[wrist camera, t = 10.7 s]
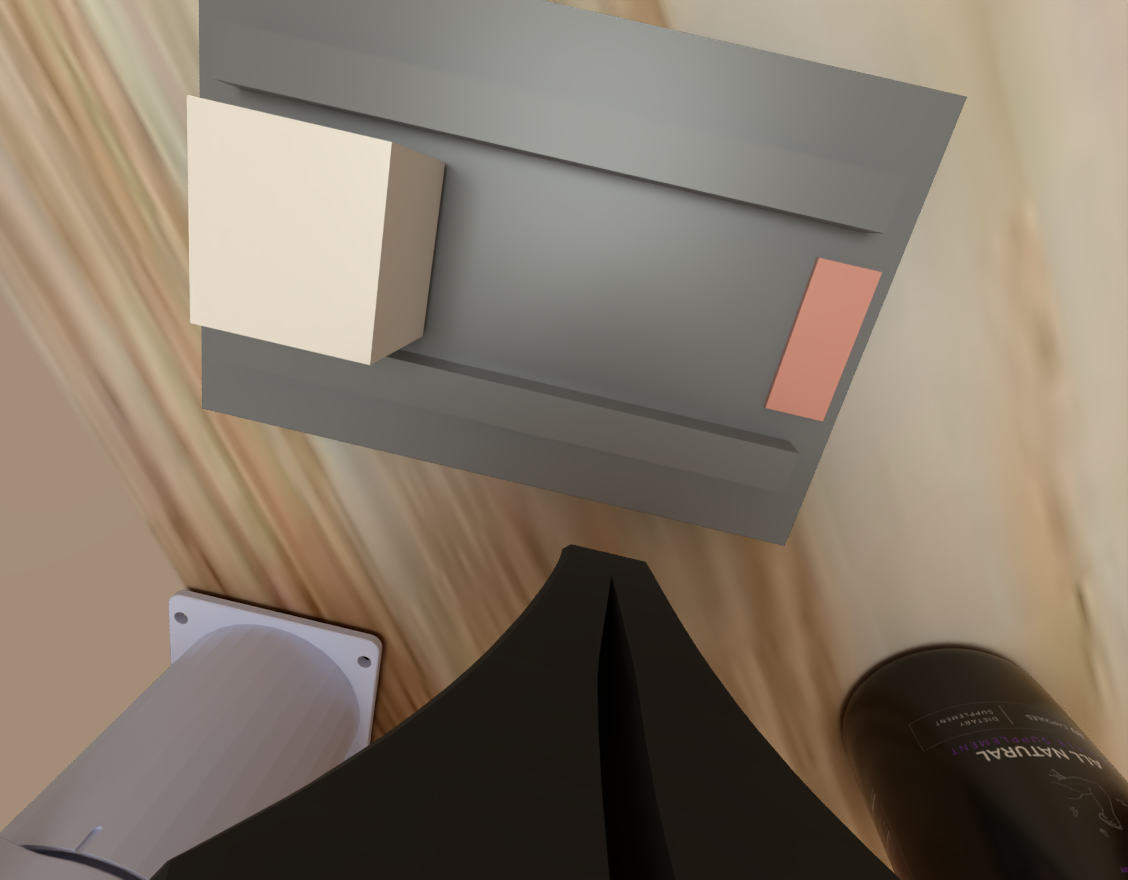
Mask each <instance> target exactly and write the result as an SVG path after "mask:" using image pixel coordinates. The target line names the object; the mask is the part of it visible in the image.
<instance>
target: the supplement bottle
mask: <svg viewBox="0 0 1128 880" xmlns="http://www.w3.org/2000/svg"><path fill="white" fill-rule="evenodd" d="M842 734H843V743H844V747H845V750H846V754H847V757H848V759H849V762H850V764H851V767H852V769H853V772H854V775H855V777H856V780H857V782H858V785H859V787H860V790H861V792H862V795H863V797H864V799H865V802H866V804H867V807H868V809H869V812H870V814H871V817H872V819H873V821H874V824H875V826H876V829H877V831H878V834H879V836H880V839H881V841H882V843H883V846H884V848H885V851H886V853H887V856H888V858H889V861H890V863H891V865H892V868H893V870H894V873H895V875H896V876H898V877H899V878H900V879H901V880H1128V782H1127V780H1126V779H1125V778H1124V777H1123V776H1122V775H1121V774H1120V773H1119V772H1118V770H1117V769H1116V768H1115V767H1114V766H1113V765H1112V764H1111V763H1110V761H1109V760H1108V759H1107V758H1106V757H1105V756H1104V755H1103V754H1102V753H1101V751H1100V750H1099V749H1098V748H1097V747H1096V746H1095V745H1094V744H1093V743H1092V741H1091V740H1090V739H1089V738H1088V737H1087V736H1086V735H1085V734H1084V732H1083V731H1082V730H1081V729H1080V728H1079V727H1078V726H1077V725H1076V724H1075V722H1074V721H1073V720H1072V719H1071V718H1070V717H1069V716H1068V715H1067V714H1066V712H1065V711H1064V710H1063V709H1062V708H1061V707H1060V706H1059V705H1058V704H1057V703H1056V702H1055V701H1054V700H1053V698H1052V697H1051V696H1050V695H1049V694H1048V693H1047V692H1046V691H1045V690H1044V689H1043V688H1042V686H1041V685H1040V684H1039V683H1037V682H1036V681H1035V680H1034V679H1033V678H1032V677H1031V676H1030V675H1029V674H1028V673H1026V672H1025V671H1024V670H1023V669H1021V668H1019V667H1018V666H1016V665H1014V664H1013V663H1011V662H1009V661H1007V660H1005V659H1003V658H1000V657H997V656H995V655H992V654H988V653H985V652H981V651H976V650H970V649H961V648H939V649H931V650H925V651H920V652H916V653H912V654H909V655H906V656H903V657H901V658H898V659H896V660H894V661H892V662H890V663H888V664H886V665H884V666H883V667H881V668H880V669H878V670H877V671H875V672H874V673H873V674H871V675H870V676H869V677H868V678H867V679H866V680H865V681H864V682H863V683H862V684H861V685H860V686H859V687H858V689H857V690H856V691H855V693H854V694H853V696H852V698H851V699H850V701H849V703H848V706H847V708H846V711H845V715H844V719H843V727H842Z"/></svg>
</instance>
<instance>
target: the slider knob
mask: <svg viewBox="0 0 1128 880" xmlns="http://www.w3.org/2000/svg"><path fill="white" fill-rule="evenodd" d="M187 138H188V206H189V273H190V323H192V324H197V325H201V326H205V327H209V328H214V329H218V330H222V331H226V332H231V333H235V334H239V335H243V336H248V337H252V338H256V339H260V340H265V341H269V342H273V343H278V344H282V345H286V346H290V347H295V348H299V349H303V350H307V351H312V352H316V353H320V354H324V355H329V356H333V357H337V358H341V359H346V360H350V361H354V362H359V363H363V364H367V365H371V364H373V363H375V362H377V361H379V360H380V359H382V358H384V357H386V356H388V355H389V354H391V353H393V352H395V351H397V350H399V349H400V348H402V347H404V346H406V345H408V344H409V343H411V342H413V341H415V340H417V339H419V338H420V337H422V336H423V331H424V323H425V315H426V307H427V300H428V292H429V284H430V276H431V269H432V261H433V253H434V245H435V238H436V230H437V222H438V214H439V207H440V199H441V191H442V183H443V176H444V168H445V162H443V161H441V160H438V159H435V158H433V157H430V156H427V155H425V154H422V153H420V152H417V151H414V150H412V149H409V148H406V147H404V146H401V145H398V144H396V143H393V142H390V141H385V140H381V139H377V138H372V137H368V136H364V135H359V134H355V133H351V132H346V131H342V130H338V129H333V128H329V127H325V126H320V125H316V124H312V123H307V122H303V121H299V120H294V119H290V118H286V117H281V116H277V115H273V114H268V113H264V112H260V111H255V110H251V109H247V108H242V107H238V106H234V105H229V104H225V103H221V102H216V101H212V100H208V99H203V98H199V97H195V96H190V95H187Z"/></svg>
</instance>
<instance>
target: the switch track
mask: <svg viewBox="0 0 1128 880" xmlns="http://www.w3.org/2000/svg"><path fill="white" fill-rule="evenodd" d="M199 60H200V98H203V99H208V100H212V101H216V102H221V103H225V104H229V105H234V106H238V107H242V108H247V109H251V110H255V111H260V112H264V113H268V114H273V115H277V116H281V117H286V118H290V119H294V120H299V121H303V122H307V123H312V124H316V125H320V126H325V127H329V128H333V129H338V130H342V131H346V132H351V133H355V134H359V135H364V136H368V137H372V138H377V139H381V140H385V141H390V142H393V143H396V144H398V145H401V146H404V147H406V148H409V149H412V150H414V151H417V152H420V153H422V154H425V155H427V156H430V157H433V158H435V159H438V160H441V161H443V162H445V168H444V176H443V183H442V191H441V199H440V207H439V214H438V222H437V230H436V238H435V245H434V253H433V261H432V269H431V276H430V284H429V292H428V300H427V307H426V315H425V323H424V331H423V336H422V337H420V338H419V339H417V340H415V341H413V342H411V343H409V344H408V345H406V346H404V347H402V348H400V349H399V350H397V351H395V352H393V353H391V354H389V355H388V356H386V357H384V358H382V359H380V360H379V361H377V362H375V363H373V364H371V365H367V364H363V363H359V362H354V361H350V360H346V359H341V358H337V357H333V356H329V355H324V354H320V353H316V352H312V351H307V350H303V349H299V348H295V347H290V346H286V345H282V344H278V343H273V342H269V341H265V340H260V339H256V338H252V337H248V336H243V335H239V334H235V333H231V332H226V331H222V330H218V329H214V328H209V327H205V326H202V409H206V410H211V411H215V412H219V413H223V414H228V415H232V416H236V417H240V418H245V419H249V420H253V421H257V422H262V423H266V424H270V425H274V426H279V427H283V428H287V429H291V430H295V431H300V432H304V433H308V434H312V435H317V436H321V437H325V438H329V439H334V440H338V441H342V442H346V443H351V444H355V445H359V446H363V447H368V448H372V449H376V450H380V451H384V452H389V453H393V454H397V455H401V456H406V457H410V458H414V459H418V460H423V461H427V462H431V463H435V464H440V465H444V466H448V467H452V468H457V469H461V470H465V471H469V472H473V473H478V474H482V475H486V476H490V477H495V478H499V479H503V480H507V481H512V482H516V483H520V484H524V485H529V486H533V487H537V488H541V489H545V490H550V491H554V492H558V493H562V494H567V495H571V496H575V497H579V498H584V499H588V500H592V501H596V502H601V503H605V504H609V505H613V506H618V507H622V508H626V509H630V510H634V511H639V512H643V513H647V514H651V515H656V516H660V517H664V518H668V519H673V520H677V521H681V522H685V523H690V524H694V525H698V526H702V527H707V528H711V529H715V530H719V531H723V532H728V533H732V534H736V535H740V536H745V537H749V538H753V539H757V540H762V541H766V542H770V543H774V544H779V545H783V546H785V544H786V542H787V539H788V537H789V534H790V532H791V529H792V527H793V524H794V522H795V519H796V517H797V514H798V512H799V509H800V507H801V505H802V502H803V500H804V497H805V495H806V492H807V490H808V487H809V485H810V482H811V480H812V477H813V475H814V473H815V470H816V468H817V465H818V463H819V460H820V458H821V455H822V453H823V450H824V448H825V445H826V443H827V440H828V438H829V436H830V433H831V431H832V428H833V426H834V423H835V421H836V418H837V416H838V413H839V411H840V408H841V406H842V404H843V401H844V399H845V396H846V394H847V391H848V389H849V386H850V384H851V381H852V379H853V376H854V374H855V372H856V369H857V367H858V364H859V362H860V359H861V357H862V354H863V352H864V349H865V347H866V344H867V342H868V339H869V337H870V335H871V332H872V330H873V327H874V325H875V322H876V320H877V317H878V315H879V312H880V310H881V307H882V305H883V303H884V300H885V298H886V295H887V293H888V290H889V288H890V285H891V283H892V280H893V278H894V275H895V273H896V270H897V268H898V266H899V263H900V261H901V258H902V256H903V253H904V251H905V248H906V246H907V243H908V241H909V238H910V236H911V234H912V231H913V229H914V226H915V224H916V221H917V219H918V216H919V214H920V211H921V209H922V206H923V204H924V202H925V199H926V197H927V194H928V192H929V189H930V187H931V184H932V182H933V179H934V177H935V174H936V172H937V169H938V167H939V165H940V162H941V160H942V157H943V155H944V152H945V150H946V147H947V145H948V142H949V140H950V137H951V135H952V133H953V130H954V128H955V125H956V123H957V120H958V118H959V115H960V113H961V110H962V108H963V105H964V103H965V101H966V98H967V97H966V96H961V95H957V94H952V93H948V92H944V91H939V90H935V89H930V88H926V87H922V86H917V85H913V84H908V83H904V82H900V81H895V80H891V79H887V78H882V77H878V76H873V75H869V74H865V73H860V72H856V71H851V70H847V69H843V68H838V67H834V66H830V65H825V64H821V63H816V62H812V61H808V60H803V59H799V58H794V57H790V56H786V55H781V54H777V53H772V52H768V51H764V50H759V49H755V48H751V47H746V46H742V45H737V44H733V43H729V42H724V41H720V40H715V39H711V38H707V37H702V36H698V35H694V34H689V33H685V32H680V31H676V30H672V29H667V28H663V27H658V26H654V25H650V24H645V23H641V22H636V21H632V20H628V19H623V18H619V17H615V16H610V15H606V14H601V13H597V12H593V11H588V10H584V9H579V8H575V7H571V6H566V5H562V4H557V3H553V2H549V1H544V0H199Z"/></svg>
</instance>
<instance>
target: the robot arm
mask: <svg viewBox="0 0 1128 880" xmlns="http://www.w3.org/2000/svg"><path fill="white" fill-rule="evenodd" d="M183 613H184V614H185V615H186V616H185V615H184V614H183ZM169 627H170V655H171V666H170V667H169V668H168V669H167V670H166V671H165V672H164V673H163V674H162V675H161V676H160V677H159V678H158V679H157V680H156V681H155V682H154V683H153V684H152V685H151V686H150V687H149V688H148V689H147V690H146V691H145V692H144V693H143V694H141V695H140V696H139V697H138V698H137V699H136V701H134V702H133V703H132V704H131V705H130V706H129V707H128V708H127V709H126V710H125V711H124V712H123V713H122V714H121V715H120V716H119V717H118V718H117V719H116V720H115V721H114V722H113V723H112V724H111V725H110V726H109V727H108V728H107V729H106V730H105V731H104V732H103V733H102V734H100V735H99V736H98V737H97V738H96V739H95V740H94V741H93V742H92V743H91V744H90V745H89V746H88V747H87V748H86V749H85V750H84V751H83V752H82V753H81V754H80V755H79V756H78V757H77V758H76V759H75V760H74V761H73V762H72V763H71V764H70V765H69V766H68V767H67V768H66V769H65V770H64V771H63V772H62V773H61V774H60V775H58V776H57V777H56V778H55V780H54V781H52V782H51V783H50V784H49V785H48V786H47V787H46V788H45V789H44V790H43V791H42V792H41V793H40V794H39V795H38V796H37V797H36V798H35V799H34V800H33V801H32V802H31V803H30V804H29V805H28V806H27V807H26V808H25V809H24V810H23V811H22V812H21V813H20V814H19V815H17V816H16V817H15V818H14V819H13V820H12V821H11V822H10V823H9V824H8V825H7V826H6V827H5V828H4V829H3V830H2V831H1V832H0V880H901V879H900V878H899V877H898V876H896V875H895V874H894V873H893V872H892V871H891V870H890V869H889V868H888V867H887V866H886V865H885V864H884V863H883V862H882V861H881V860H879V859H878V858H877V857H876V856H875V855H874V854H873V853H872V852H871V851H870V850H869V849H868V848H867V847H866V846H865V845H864V844H863V843H862V842H861V841H860V840H859V839H858V838H857V837H856V836H855V835H854V834H853V833H852V832H851V831H850V830H849V829H848V828H847V827H846V826H845V825H844V824H843V823H842V822H841V821H840V820H839V819H838V818H837V817H836V816H835V815H834V814H833V813H832V812H831V811H830V810H829V809H828V808H827V807H826V806H825V805H824V804H823V803H822V802H821V801H820V800H819V798H818V797H817V796H816V795H815V794H814V793H813V792H812V791H811V790H810V789H809V788H808V787H807V786H806V784H805V783H804V782H803V781H802V780H801V779H800V778H799V777H798V776H797V775H796V774H795V773H794V771H793V770H792V769H791V768H790V767H789V766H788V765H787V763H786V762H785V761H784V760H783V759H782V758H781V756H780V755H779V754H778V753H777V752H776V751H775V749H774V748H773V747H772V746H771V745H770V744H769V742H768V741H767V740H766V739H765V738H764V737H763V735H762V734H761V733H760V732H759V731H758V730H757V728H756V727H755V726H754V725H753V723H752V722H751V721H750V720H749V718H748V717H747V716H746V715H745V713H744V712H743V711H742V710H741V708H740V707H739V706H738V705H737V703H736V702H735V700H734V699H733V698H732V696H731V695H730V694H729V692H728V691H727V690H726V688H725V687H724V686H723V684H722V683H721V681H720V680H719V679H718V677H717V676H716V675H715V673H714V672H713V671H712V669H711V668H710V666H709V665H708V663H707V662H706V660H705V659H704V657H703V656H702V655H701V653H700V652H699V650H698V648H697V647H696V645H695V644H694V642H693V641H692V639H691V638H690V636H689V634H688V633H687V631H686V630H685V628H684V627H683V625H682V623H681V622H680V620H679V618H678V617H677V615H676V613H675V612H674V610H673V608H672V606H671V605H670V603H669V601H668V600H667V598H666V596H665V594H664V593H663V591H662V589H661V587H660V586H659V584H658V582H657V581H656V579H655V577H654V575H653V574H652V572H651V570H650V569H649V567H648V565H647V564H646V562H643V561H639V560H635V559H631V558H627V557H622V556H618V555H614V554H610V553H605V552H601V551H597V550H593V549H589V548H584V547H580V546H576V545H572V544H571V545H569V546H567V547H565V548H563V549H562V553H561V557H560V559H559V561H558V563H557V565H556V567H555V569H554V570H553V572H552V574H551V575H550V577H549V578H548V580H547V581H546V583H545V584H544V586H543V587H542V588H541V590H540V591H539V592H538V594H537V595H536V596H535V598H534V599H533V600H532V602H531V603H530V604H529V605H528V607H527V608H526V609H525V611H524V612H523V613H522V614H521V615H520V616H519V618H518V619H517V620H516V621H515V622H514V623H513V624H512V625H511V626H510V627H509V628H508V630H507V631H506V632H505V633H504V634H503V635H502V636H501V637H500V638H499V639H498V640H497V642H496V643H495V644H494V645H493V646H492V647H491V648H490V649H489V650H488V651H487V652H486V653H485V654H484V655H483V656H482V657H480V658H479V659H478V660H477V661H476V662H475V663H474V664H473V665H472V666H471V667H470V668H469V669H468V670H466V671H465V672H464V673H463V674H462V675H461V676H460V677H458V678H457V679H456V680H455V681H454V682H453V683H452V684H450V685H449V686H448V687H447V688H446V689H444V690H443V691H442V692H441V693H439V694H438V695H437V696H436V697H434V698H433V699H432V700H430V701H429V702H428V703H427V704H425V705H424V706H423V707H422V708H420V709H419V710H418V711H416V712H415V713H414V714H413V715H411V716H410V717H409V718H407V719H406V720H405V721H403V722H402V723H400V724H399V725H398V726H396V727H395V728H394V729H392V730H391V731H389V732H388V733H386V734H385V735H384V736H382V737H381V738H379V739H378V740H376V741H374V742H373V743H371V744H370V740H371V732H372V724H373V717H374V709H375V701H376V693H377V686H378V678H379V670H380V662H381V655H382V643H381V641H380V640H379V639H378V638H377V637H376V636H373V635H371V634H367V633H363V632H359V631H355V630H350V629H346V628H342V627H338V626H334V625H329V624H325V623H321V622H317V621H313V620H309V619H304V618H300V617H296V616H292V615H288V614H283V613H279V612H275V611H271V610H267V609H263V608H258V607H254V606H250V605H246V604H242V603H237V602H233V601H229V600H225V599H221V598H217V597H212V596H208V595H204V594H200V593H196V592H191V591H187V590H182V591H179V592H177V593H176V594H175V595H173V596H172V597H171V598H170V600H169ZM363 656H365V657H367V658H369V659H370V660H366V659H364V657H363Z"/></svg>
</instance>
